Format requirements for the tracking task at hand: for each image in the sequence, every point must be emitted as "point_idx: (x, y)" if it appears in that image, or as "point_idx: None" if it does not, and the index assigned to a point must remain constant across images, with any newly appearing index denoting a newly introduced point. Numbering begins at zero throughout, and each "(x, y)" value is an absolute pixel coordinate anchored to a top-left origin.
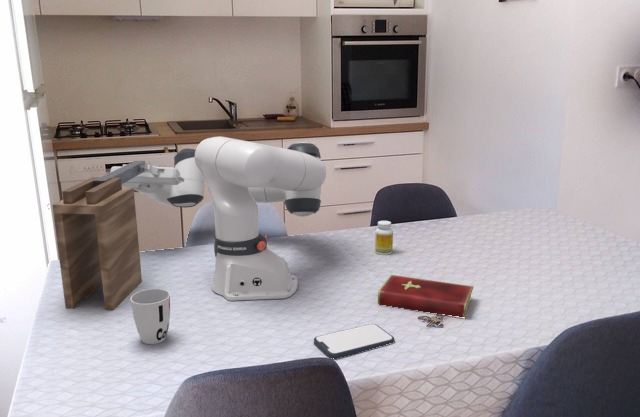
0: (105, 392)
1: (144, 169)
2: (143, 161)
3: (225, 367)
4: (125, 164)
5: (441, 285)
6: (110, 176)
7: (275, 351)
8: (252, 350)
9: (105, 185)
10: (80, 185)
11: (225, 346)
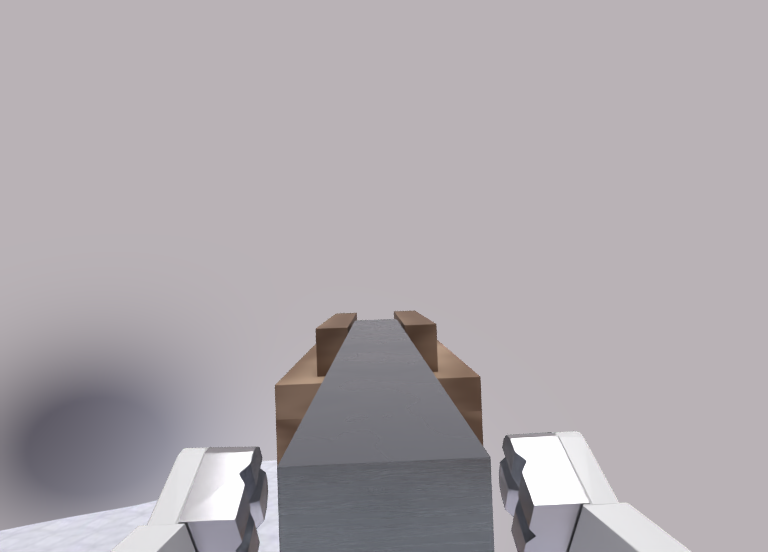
0: (266, 473)
1: (265, 489)
2: (295, 445)
3: (113, 510)
4: (551, 435)
5: None
6: (365, 326)
7: (13, 540)
8: (51, 538)
9: (331, 318)
10: (404, 315)
11: (93, 541)
